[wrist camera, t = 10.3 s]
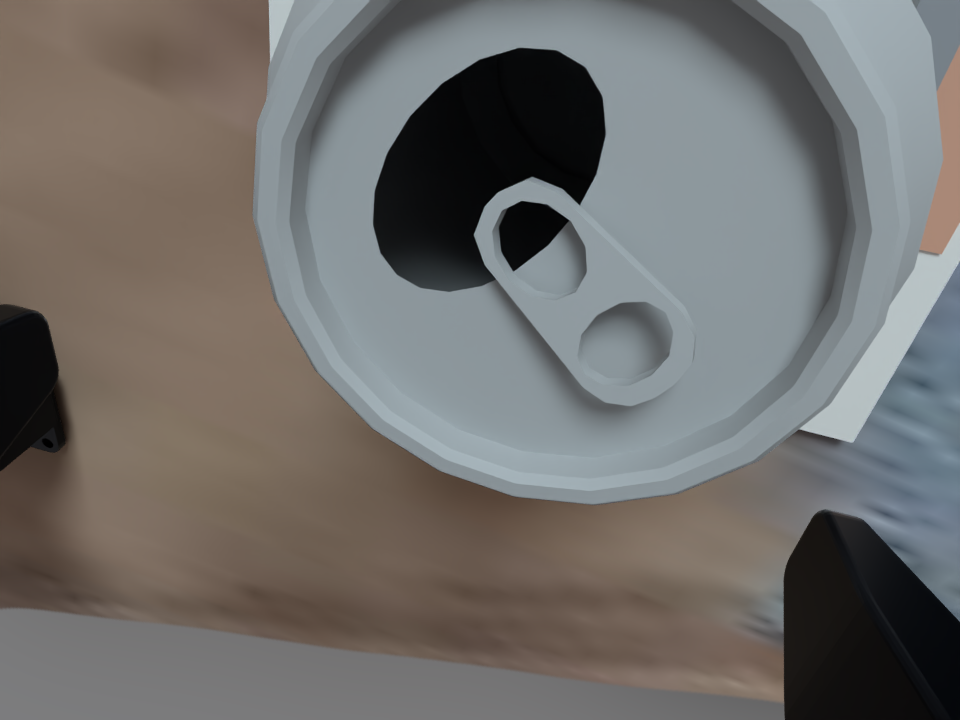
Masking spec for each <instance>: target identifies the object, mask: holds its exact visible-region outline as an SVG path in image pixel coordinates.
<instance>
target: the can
mask: <svg viewBox="0 0 960 720" xmlns="http://www.w3.org/2000/svg"><path fill="white" fill-rule="evenodd" d="M942 162H943V151H942V141H941V131H940V121H939V111H938V101H937V91H936V81H935V71H934V61H933V51H932V41H931V36H930V34H929V32H928V30H927V29H926V27H925V25H924V23H923V21H922V19H921V17H920V15H919V13H918V12H917V10H916V8H915V6H914V4H913V2H912V0H294V3H293V5H292V8H291V10H290V13H289V16H288V18H287V21H286V23H285V26H284V29H283V31H282V34H281V36H280V39H279V42H278V44H277V47H276V49H275V52H274V55H273V57H272V60H271V62H270V65H269V69H268V87H267V100H266V102H265V105H264V107H263V110H262V112H261V115H260V117H259V120H258V123H257V136H256V157H255V177H254V198H253V219H254V223H255V227H256V230H257V234H258V238H259V242H260V246H261V250H262V254H263V258H264V262H265V266H266V270H267V274H268V277H269V281H270V285H271V289H272V293H273V297H274V300H275V302H276V303H277V305H278V307H279V309H280V310H281V312H282V314H283V316H284V317H285V319H286V321H287V323H288V324H289V326H290V328H291V329H292V331H293V333H294V335H295V336H296V338H297V340H298V342H299V343H300V345H301V347H302V349H303V350H304V352H305V354H306V355H307V357H308V359H309V361H310V362H311V364H312V366H313V368H314V369H315V371H316V372H317V373H318V374H319V375H320V376H321V377H322V378H323V379H324V380H325V381H326V382H327V383H328V384H329V385H330V386H331V387H332V388H333V389H334V390H335V392H336V393H337V394H338V395H339V396H340V397H341V398H342V399H343V400H344V401H345V402H346V403H347V404H348V405H349V406H350V407H351V408H352V409H353V410H354V411H355V412H356V413H357V414H358V415H359V416H360V417H361V418H362V419H363V420H364V421H365V422H366V423H367V424H368V425H369V426H370V427H371V428H372V429H373V430H375V431H376V432H378V433H380V434H381V435H383V436H384V437H386V438H388V439H389V440H391V441H392V442H394V443H395V444H397V445H399V446H400V447H402V448H403V449H405V450H407V451H408V452H410V453H411V454H413V455H415V456H416V457H418V458H419V459H421V460H423V461H424V462H426V463H427V464H429V465H430V466H432V467H434V468H435V469H437V470H438V471H441V472H444V473H447V474H450V475H452V476H455V477H458V478H461V479H464V480H467V481H470V482H473V483H476V484H479V485H481V486H484V487H487V488H490V489H493V490H496V491H499V492H502V493H505V494H508V495H510V496H513V497H520V498H530V499H540V500H549V501H559V502H569V503H579V504H588V505H600V504H608V503H615V502H623V501H630V500H637V499H645V498H652V497H659V496H667V495H674V494H679V493H682V492H684V491H686V490H689V489H691V488H694V487H696V486H699V485H701V484H704V483H706V482H708V481H711V480H713V479H716V478H718V477H721V476H723V475H725V474H728V473H730V472H733V471H735V470H738V469H740V468H743V467H745V466H747V465H750V464H752V463H755V462H757V461H759V460H760V459H762V458H763V457H764V456H765V455H767V454H768V453H769V452H770V451H772V450H773V449H774V448H776V447H777V446H778V445H779V444H781V443H782V442H783V441H784V440H786V439H787V438H788V437H789V436H791V435H792V434H793V433H795V432H796V431H797V430H798V429H800V428H801V427H802V426H803V425H805V424H806V423H807V422H809V421H810V420H811V419H812V418H814V417H815V416H816V415H817V414H819V413H820V412H821V411H822V410H824V409H825V408H826V407H828V406H829V405H830V404H831V403H832V401H833V400H834V398H835V397H836V395H837V394H838V392H839V391H840V389H841V388H842V386H843V385H844V383H845V382H846V380H847V379H848V377H849V376H850V374H851V373H852V371H853V370H854V368H855V367H856V365H857V364H858V363H859V361H860V360H861V358H862V357H863V355H864V354H865V352H866V351H867V349H868V348H869V346H870V345H871V343H872V342H873V340H874V339H875V337H876V336H877V334H878V333H879V331H880V330H881V328H882V327H883V325H884V324H885V321H886V317H887V313H888V309H889V306H890V305H891V303H892V302H893V300H894V299H895V297H896V296H897V294H898V293H899V291H900V290H901V288H902V287H903V285H904V284H905V282H906V281H907V279H908V278H909V276H910V275H911V273H912V272H913V270H914V268H915V264H916V260H917V256H918V253H919V249H920V245H921V241H922V238H923V234H924V230H925V226H926V223H927V219H928V215H929V211H930V208H931V204H932V200H933V196H934V192H935V189H936V185H937V181H938V177H939V174H940V170H941V166H942Z"/></svg>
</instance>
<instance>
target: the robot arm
mask: <svg viewBox="0 0 960 720" xmlns="http://www.w3.org/2000/svg"><path fill="white" fill-rule="evenodd" d="M58 374H59V368H58V363H57V359H56V355H55V350H54V346H53V342H52V338H51V334H50V329H49V325H48V322H47V320H46V319H45V317H44V316H43V315H42V314H41V313H39V312H37V311H35V310H31V309H27V308H23V307H19V306H15V305H9V304H3V305H0V471H1V470H3V469H4V468H5V467H6V466H7V465H9V464H10V463H11V462H12V461H13V460H15V459H16V458H17V457H18V456H19V455H21V454H22V453H23V452H24V451H25V450H27V449H28V448H29V447H34V448H37V449H41V450H44V451H48V452H53V453H55V452H57V451H58V450H60V449H61V448H62V447H63V446H64V445H65V437H64V432H63V428H62V424H61V420H60V416H59V412H58V408H57V404H56V400H55V396H54V392H53V388H54V387H55V385H56V382H57V379H58ZM784 711H785V720H960V622H959V621H958V620H957V618H956V617H955V616H954V615H953V614H952V613H951V612H950V611H949V610H948V609H947V608H946V607H945V606H944V605H943V604H942V603H941V601H940V600H939V599H938V598H937V597H936V596H935V595H934V594H933V593H932V592H931V591H930V590H929V589H928V588H927V587H926V586H925V584H924V583H923V582H922V581H921V580H920V579H919V578H918V577H917V576H916V575H915V574H914V573H913V572H912V571H911V570H910V569H909V567H908V566H907V565H906V564H905V563H904V562H903V561H902V560H901V559H900V558H899V557H898V556H897V555H896V554H895V553H894V552H893V551H892V549H891V548H890V547H889V546H888V545H887V544H886V543H885V542H884V541H883V540H882V539H881V538H880V537H879V536H878V535H877V534H876V532H875V531H874V530H873V529H872V528H871V527H870V526H869V525H868V524H867V523H866V522H865V521H864V520H862V519H860V518H858V517H855V516H851V515H847V514H843V513H839V512H835V511H831V510H826V509H825V510H821V511H818V512H817V513H816V514H815V515H814V516H813V518H812V519H811V521H810V523H809V524H808V526H807V528H806V530H805V531H804V533H803V535H802V537H801V538H800V540H799V542H798V544H797V545H796V547H795V549H794V551H793V552H792V554H791V556H790V558H789V560H788V562H787V565H786V569H785V573H784Z"/></svg>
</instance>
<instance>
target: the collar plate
mask: <svg viewBox="0 0 960 720" xmlns="http://www.w3.org/2000/svg"><path fill="white" fill-rule="evenodd" d="M912 2H913V4H914V6H915V8H916V10H917V12H918V13H919V15H920V17H921V19H922V21H923V23H924V25H925V27H926V29H927V30H928V32H929V34H930V36H931V41H932V51H933V61H934V71H935V81H936V91H937V101H938V111H939V121H940V131H941V141H942V151H943V162H942V166H941V170H940V174H939V177H938V181H937V185H936V189H935V192H934V196H933V200H932V204H931V208H930V211H929V215H928V219H927V223H926V226H925V230H924V234H923V238H922V241H921V245H920V249H919V253H918V256H917V260H916V264H915V268H914V270H913V272H912V273H911V275H910V276H909V278H908V279H907V281H906V282H905V284H904V285H903V287H902V288H901V290H900V291H899V293H898V294H897V296H896V297H895V299H894V300H893V302H892V303H891V305H890V306H889V309H888V313H887V317H886V321H885V324H884V325H883V327H882V328H881V330H880V331H879V333H878V334H877V336H876V337H875V339H874V340H873V342H872V343H871V345H870V346H869V348H868V349H867V351H866V352H865V354H864V355H863V357H862V358H861V360H860V361H859V363H858V364H857V365H856V367H855V368H854V370H853V371H852V373H851V374H850V376H849V377H848V379H847V380H846V382H845V383H844V385H843V386H842V388H841V389H840V391H839V392H838V394H837V395H836V397H835V398H834V400H833V401H832V403H831V404H830V405H829V406H828V407H826V408H825V409H824V410H822V411H821V412H820V413H819V414H817V415H816V416H815V417H814V418H812V419H811V420H810V421H809V422H807V423H806V424H805V425H803V426H802V427H801V428H800V430H804V431H808V432H812V433H816V434H820V435H824V436H828V437H832V438H836V439H840V440H843V441H847V442H851V443H853V442H854V440H855V438H856V437H857V435H858V433H859V432H860V430H861V428H862V427H863V425H864V423H865V421H866V420H867V418H868V416H869V415H870V413H871V411H872V410H873V408H874V406H875V404H876V403H877V401H878V399H879V398H880V396H881V394H882V392H883V391H884V389H885V387H886V386H887V384H888V382H889V381H890V379H891V377H892V375H893V374H894V372H895V370H896V369H897V367H898V365H899V363H900V362H901V360H902V358H903V357H904V355H905V353H906V352H907V350H908V348H909V346H910V345H911V343H912V341H913V340H914V338H915V336H916V335H917V333H918V331H919V329H920V328H921V326H922V324H923V323H924V321H925V319H926V317H927V316H928V314H929V312H930V311H931V309H932V307H933V306H934V304H935V302H936V300H937V299H938V297H939V295H940V294H941V292H942V290H943V289H944V287H945V285H946V283H947V282H948V280H949V278H950V277H951V275H952V273H953V271H954V270H955V268H956V266H957V265H958V263H959V261H960V0H912ZM293 3H294V0H269V29H270V62H271V60H272V57H273V55H274V52H275V49H276V47H277V44H278V42H279V39H280V36H281V34H282V31H283V29H284V26H285V23H286V21H287V18H288V16H289V13H290V10H291V8H292V5H293Z"/></svg>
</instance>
